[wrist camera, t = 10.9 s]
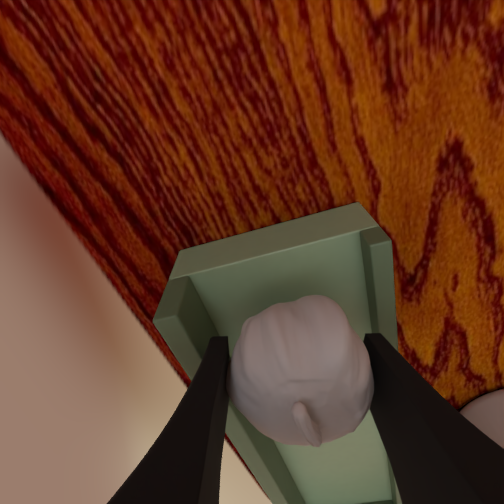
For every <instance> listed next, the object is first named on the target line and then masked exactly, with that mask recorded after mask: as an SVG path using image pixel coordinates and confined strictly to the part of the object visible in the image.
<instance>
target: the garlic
mask: <svg viewBox="0 0 504 504" xmlns="http://www.w3.org/2000/svg"><path fill="white" fill-rule="evenodd" d="M226 389H227V393H228V395H229V398H230V399H231V401H232V403H233V404H234V406H235V407H236V408H237V409H238V410H239V411H240V412H241V413H242V414H243V415H244V416H245V417H246V418H247V420H248V421H249V422H250V423H251V424H252V425H253V426H254V427H255V428H256V429H257V430H258V431H259V432H261V433H262V434H264V435H265V436H267V437H269V438H271V439H273V440H275V441H277V442H281V443H282V444H287V445H300V446H310V445H312V446H313V447H320V445H321V444H324V443H327V442H332V441H333V440H335V439H338V438H341V437H343V436H345V435H347V434H348V433H353V432H354V431H355V430H356V428H357V426H358V425H359V424H360V423H361V422H362V421H363V419H364V417H365V415H366V414H367V412H368V410H369V408H370V405H371V401H372V398H373V394H374V378H373V372H372V368H371V365H370V358H369V354H368V351H367V349H366V347H365V345H364V343H363V341H362V340H361V338H360V337H359V336H358V335H357V333H356V332H355V331H354V329H353V328H352V327H351V326H350V324H349V322H348V319H347V317H346V315H345V313H344V311H343V310H342V308H341V307H340V306H339V305H338V304H337V303H336V302H335V301H334V300H332V299H330V298H329V297H326V296H322V295H309V296H304V297H302V298H300V299H298V300H296V301H292V302H286V303H277V304H274V305H272V306H270V307H268V308H267V309H265V310H263V311H262V312H260V313H259V314H257V315H255V316H252V317H250V318H248V319H247V320H246V321H245V322H244V324H243V326H242V330H241V335H240V337H239V338H238V340H237V342H236V344H235V347H234V350H233V353H232V357H231V359H230V362H229V365H228V371H227V379H226Z"/></svg>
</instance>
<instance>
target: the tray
mask: <svg viewBox="0 0 504 504" xmlns="http://www.w3.org/2000/svg"><path fill="white" fill-rule="evenodd" d="M309 295H322V296H326V297H329V298H330V299H332V300H334V301H335V302H336V303H337V304H338V305H339V306H340V307H341V308H342V310H343V311H344V313H345V315H346V317H347V319H348V322H349V324H350V326H351V327H352V328H353V329H354V331H355V332H356V333H357V335H358V336H359V337H360V338H361V340H362V341H363V340H364V337H365V333H381V334H382V335H383V336H384V337H385V338H386V339H387V340H388V341H389V342H390V344H391V345H392V346H393V347H394V348H395V349H396V350H397V351H398V340H397V323H396V306H395V289H394V272H393V255H392V241H391V239H390V238H389V237H388V236H387V235H386V233H385V232H384V231H383V230H382V229H381V227H379V225H378V224H377V223H376V222H375V220H374V219H373V218H372V217H371V216H370V215H369V213H368V212H367V211H366V210H365V209H364V207H363V206H362V205H361V204H360V203H359V202H356V203H352V204H349V205H345V206H341V207H338V208H334V209H330V210H327V211H323V212H319V213H316V214H312V215H308V216H305V217H301V218H297V219H294V220H290V221H286V222H283V223H279V224H275V225H272V226H268V227H264V228H261V229H257V230H253V231H250V232H246V233H242V234H239V235H235V236H231V237H228V238H224V239H220V240H217V241H213V242H209V243H206V244H202V245H198V246H195V247H191V248H187V249H184V250H180V252H179V254H178V257H177V259H176V262H175V264H174V267H173V270H172V272H171V275H170V277H169V281H168V283H167V285H166V288H165V290H164V293H163V295H162V298H161V301H160V303H159V306H158V308H157V311H156V313H155V316H154V319H153V323H154V325H155V326H156V328H157V329H158V331H159V332H160V334H161V335H162V337H163V338H164V340H165V341H166V343H167V344H168V346H169V348H170V349H171V351H172V352H173V354H174V355H175V357H176V358H177V360H178V361H179V363H180V364H181V366H182V367H183V369H184V370H185V372H186V373H187V375H188V376H189V378H190V379H191V381H192V380H193V378H194V376H195V374H196V372H197V370H198V368H199V365H200V363H201V361H202V359H203V356H204V354H205V352H206V349H207V346H208V343H209V340H210V338H211V337H213V336H228V343H229V355H230V359H231V357H232V353H233V350H234V347H235V344H236V342H237V340H238V338H239V337H240V335H241V330H242V326H243V324H244V322H245V321H246V320H247V319H248V318H250V317H252V316H255V315H257V314H259V313H260V312H262V311H263V310H265V309H267V308H268V307H270V306H272V305H274V304H277V303H286V302H292V301H296V300H298V299H300V298H302V297H304V296H309ZM225 432H226V434H227V435H228V437H229V438H230V440H231V441H232V443H233V444H234V446H235V447H236V449H237V451H238V452H239V454H240V455H241V457H242V458H243V460H244V461H245V463H246V464H247V466H248V467H249V469H250V470H251V472H252V473H253V475H254V476H255V478H256V479H257V481H258V482H259V484H260V485H261V487H262V488H263V490H264V491H265V493H266V494H267V496H268V497H269V499H270V500H271V502H272V504H402V501H401V498H400V494H399V491H398V487H397V484H396V481H395V477H394V474H393V470H392V467H391V464H390V461H389V458H388V455H387V453H386V450H385V448H384V445H383V442H382V440H381V437H380V435H379V432H378V430H377V427H376V424H375V422H374V419H373V417H372V414H371V412H370V409H369V410H368V412H367V414H366V415H365V417H364V419H363V421H362V422H361V423H360V424H359V425H358V426H357V428H356V430H355V431H354V432H353V433H348V434H347V435H345V436H343V437H341V438H338V439H335V440H333V441H332V442H327V443H324V444H321V445H320V447H313V446H312V445H310V446H300V445H287V444H282V443H281V442H277V441H275V440H273V439H271V438H269V437H267V436H265V435H264V434H262V433H261V432H259V431H258V430H257V429H256V428H255V427H254V426H253V425H252V424H251V423H250V422H249V421H248V420H247V418H246V417H245V416H244V415H243V414H242V413H241V412H240V411H239V410H238V409H237V408H236V407H235V406H234V404H233V403H232V401H231V399H230V398H229V405H228V413H227V421H226V428H225Z"/></svg>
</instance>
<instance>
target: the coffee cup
mask: <svg viewBox="0 0 504 504" xmlns="http://www.w3.org/2000/svg"><path fill="white" fill-rule="evenodd" d="M459 413H461V414H462V415H463V416H464V417H465V418H466V419H468V420H469V421H470V422H471V423H472V424H474V425H475V426H476V427H477V428H478V429H480V430H481V431H482V432H483V433H484V434H486V435H487V436H488V437H489V438H491V439H492V440H493V441H494V442H496V443H497V444H498V445H500V446H501V447H502V448H504V389H501V390H497V391H494V392H491V393H488V394H485V395H483V396H481V397H479V398H477V399H475V400H473V401H472V402H470V403H468V404H467V405H466V406H465V407H464V408H463V409H462V410H461V411H460V412H459Z"/></svg>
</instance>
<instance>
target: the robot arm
mask: <svg viewBox="0 0 504 504" xmlns="http://www.w3.org/2000/svg"><path fill="white" fill-rule="evenodd" d="M363 343H364V345H365V347H366V349H367V351H368V354H369V358H370V365H371V368H372V372H373V378H374V394H373V398H372V401H371V405H370V408H369V409H370V412H371V414H372V417H373V419H374V422H375V424H376V427H377V430H378V432H379V435H380V437H381V440H382V442H383V445H384V448H385V450H386V453H387V455H388V458H389V461H390V464H391V467H392V470H393V474H394V477H395V481H396V484H397V487H398V491H399V494H400V498H401V501H402V504H504V448H502V447H501V446H500V445H498V444H497V443H496V442H494V441H493V440H492V439H491V438H489V437H488V436H487V435H486V434H484V433H483V432H482V431H481V430H480V429H478V428H477V427H476V426H475V425H474V424H472V423H471V422H470V421H469V420H468V419H466V418H465V417H464V416H463V415H462V414H461V413H459V412H458V411H457V410H456V409H455V408H454V407H453V406H452V405H451V404H449V403H448V402H447V401H446V400H445V399H444V398H443V397H442V396H441V395H440V394H439V393H438V392H437V391H436V390H435V389H434V388H433V387H432V386H431V385H430V384H429V383H428V382H427V381H426V380H425V379H424V378H423V377H422V376H421V375H420V374H419V373H418V372H417V371H416V370H415V369H414V368H413V367H412V366H411V365H410V364H409V363H408V362H407V361H406V360H405V359H404V358H403V357H402V355H401V354H400V353H399V352H398V351H397V350H396V349H395V348H394V347H393V346H392V345H391V344H390V342H389V341H388V340H387V339H386V338H385V337H384V336H383V335H382V334H381V333H365V337H364V340H363ZM229 362H230V355H229V343H228V336H213V337H211V338H210V340H209V343H208V346H207V349H206V352H205V354H204V356H203V359H202V361H201V363H200V365H199V368H198V370H197V372H196V374H195V376H194V378H193V380H192V382H191V384H190V386H189V387H188V389H187V391H186V393H185V395H184V396H183V398H182V400H181V402H180V403H179V405H178V407H177V409H176V411H175V412H174V414H173V415H172V417H171V418H170V420H169V422H168V423H167V425H166V426H165V428H164V429H163V431H162V432H161V434H160V435H159V437H158V438H157V440H156V441H155V442H154V444H153V445H152V447H151V448H150V449H149V451H148V453H147V454H146V455H145V456H144V458H143V459H142V460H141V462H140V463H139V464H138V466H137V467H136V468H135V470H134V471H133V472H132V473H131V475H130V476H129V477H128V478H127V480H126V481H125V482H124V483H123V485H122V486H121V487H120V488H119V489H118V491H117V492H116V493H115V495H114V496H113V497H112V498H111V499H110V501H109V502H108V503H107V504H219V489H220V470H221V458H222V451H223V443H224V436H225V428H226V421H227V413H228V405H229V395H228V393H227V389H226V379H227V371H228V365H229Z"/></svg>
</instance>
